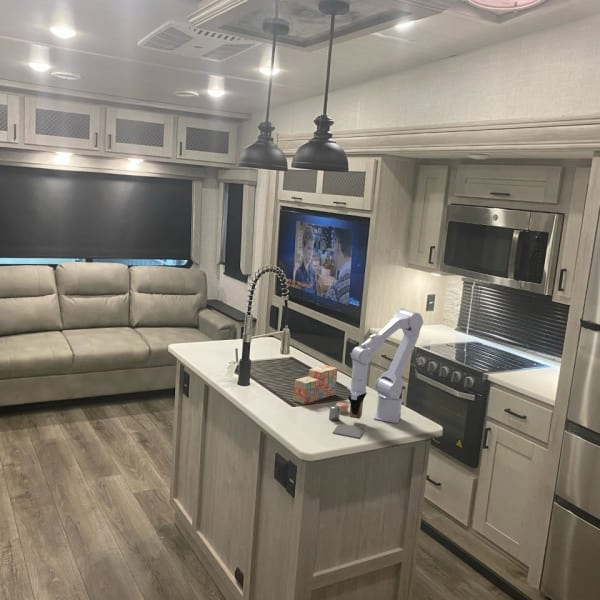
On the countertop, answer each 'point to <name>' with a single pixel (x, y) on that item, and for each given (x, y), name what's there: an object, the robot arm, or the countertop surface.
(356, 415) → the walnut block
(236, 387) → the countertop surface
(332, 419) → the shiny grey rounded piece
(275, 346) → the countertop surface
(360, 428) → the slate mat
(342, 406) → the peach dome knob
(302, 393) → the stack of blocks
